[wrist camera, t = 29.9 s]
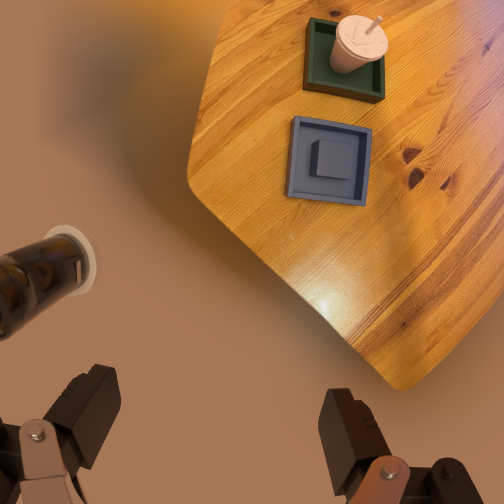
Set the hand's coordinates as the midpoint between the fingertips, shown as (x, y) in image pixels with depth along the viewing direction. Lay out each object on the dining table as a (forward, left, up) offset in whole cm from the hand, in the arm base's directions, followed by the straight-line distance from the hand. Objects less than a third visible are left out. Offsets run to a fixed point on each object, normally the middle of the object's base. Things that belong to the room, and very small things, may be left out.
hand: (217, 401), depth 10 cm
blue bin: (+11, +12, -32) cm, 36 cm away
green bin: (+12, +27, -32) cm, 44 cm away
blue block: (+11, +12, -32) cm, 35 cm away
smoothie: (+12, +27, -32) cm, 43 cm away
